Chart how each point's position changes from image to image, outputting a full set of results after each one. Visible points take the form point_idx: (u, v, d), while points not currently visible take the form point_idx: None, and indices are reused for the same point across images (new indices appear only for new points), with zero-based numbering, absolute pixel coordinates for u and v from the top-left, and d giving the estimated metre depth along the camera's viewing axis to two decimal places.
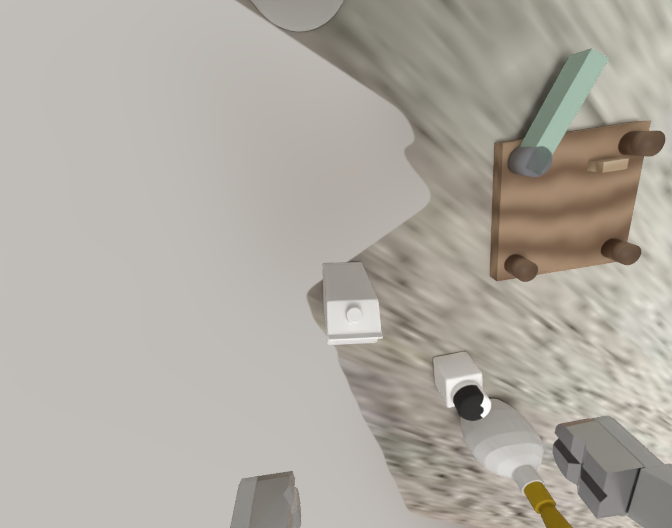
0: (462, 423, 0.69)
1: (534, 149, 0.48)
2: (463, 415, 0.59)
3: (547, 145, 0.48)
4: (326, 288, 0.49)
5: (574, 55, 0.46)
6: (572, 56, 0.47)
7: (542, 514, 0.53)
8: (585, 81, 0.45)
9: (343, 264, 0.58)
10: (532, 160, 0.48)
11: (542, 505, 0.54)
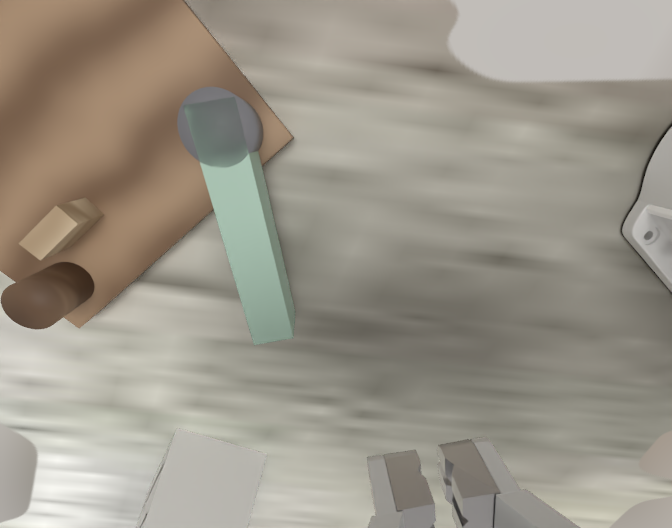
0: None
1: (247, 147, 0.20)
2: None
3: (227, 172, 0.20)
4: None
5: (294, 315, 0.27)
6: (294, 313, 0.28)
7: None
8: (260, 300, 0.23)
9: None
10: (231, 123, 0.19)
11: None
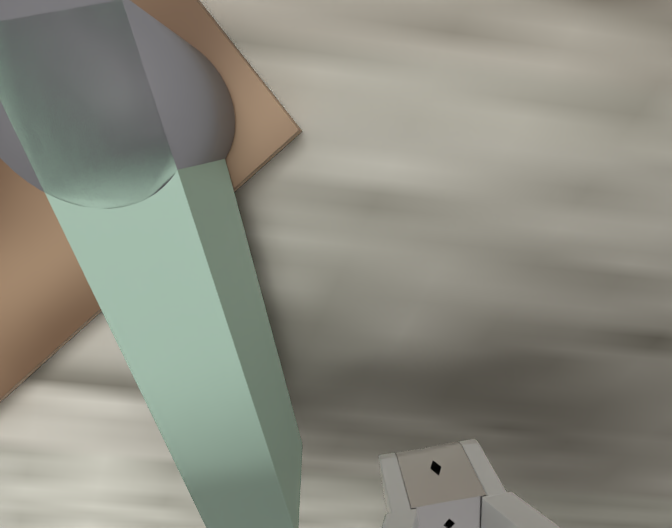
0: None
1: (174, 153, 0.07)
2: None
3: (124, 219, 0.08)
4: None
5: (300, 462, 0.15)
6: (300, 454, 0.15)
7: None
8: (226, 482, 0.11)
9: None
10: (119, 86, 0.07)
11: None
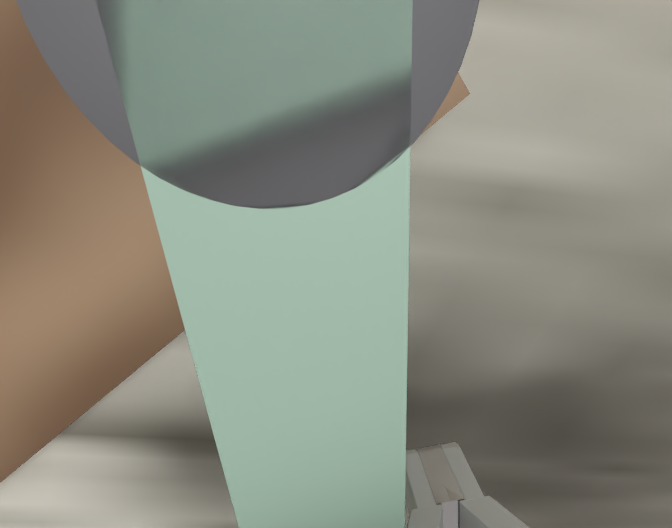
0: None
1: (408, 113, 0.04)
2: None
3: (284, 230, 0.04)
4: None
5: None
6: None
7: None
8: None
9: None
10: None
11: None
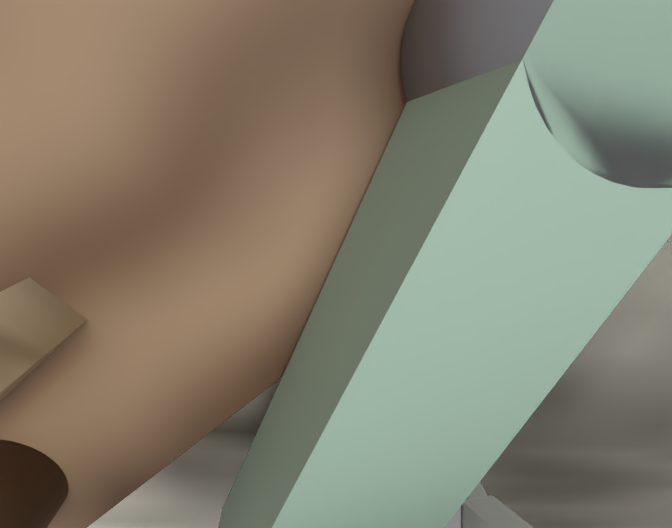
0: None
1: None
2: None
3: (578, 194, 0.04)
4: None
5: None
6: None
7: None
8: None
9: None
10: None
11: None
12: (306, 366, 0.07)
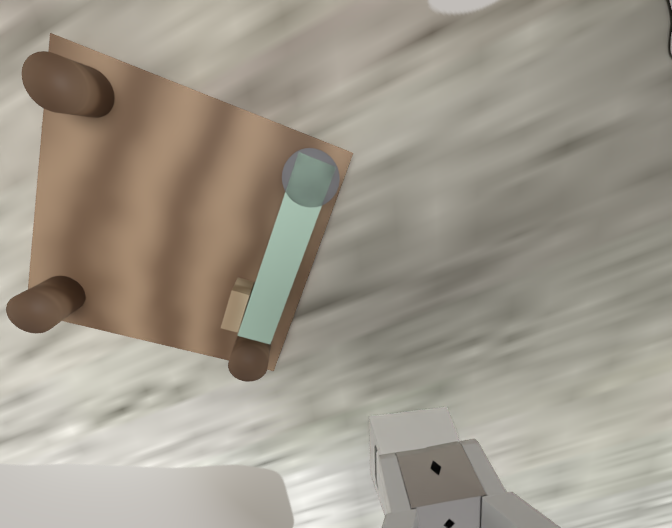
0: None
1: (323, 201, 0.26)
2: None
3: (299, 208, 0.26)
4: None
5: None
6: None
7: None
8: (264, 305, 0.28)
9: None
10: (322, 181, 0.25)
11: None
12: None
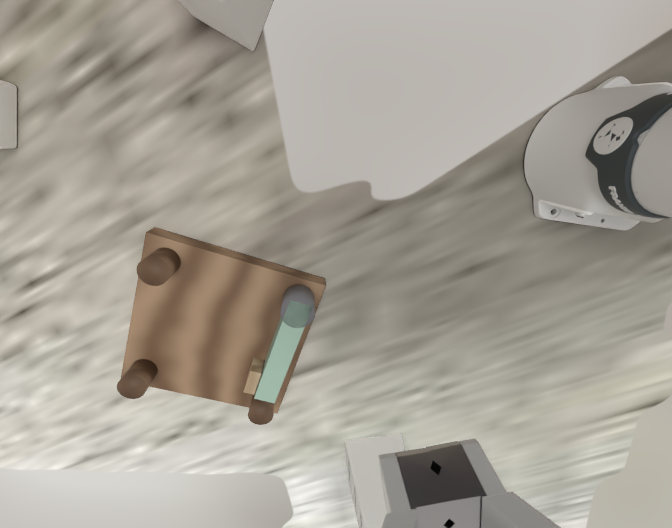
0: None
1: (305, 324, 0.43)
2: None
3: (291, 329, 0.43)
4: None
5: None
6: None
7: None
8: (270, 381, 0.46)
9: (264, 17, 0.35)
10: (304, 314, 0.42)
11: None
12: (271, 346, 0.46)
